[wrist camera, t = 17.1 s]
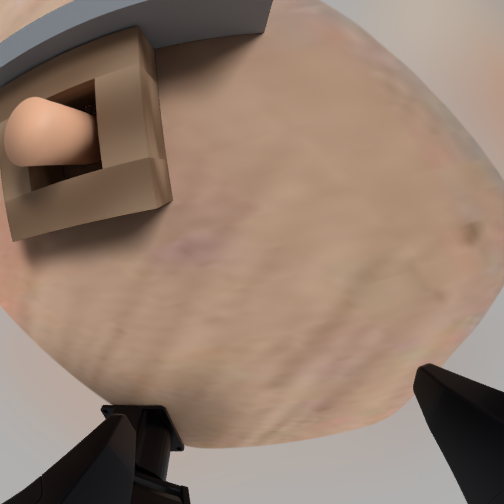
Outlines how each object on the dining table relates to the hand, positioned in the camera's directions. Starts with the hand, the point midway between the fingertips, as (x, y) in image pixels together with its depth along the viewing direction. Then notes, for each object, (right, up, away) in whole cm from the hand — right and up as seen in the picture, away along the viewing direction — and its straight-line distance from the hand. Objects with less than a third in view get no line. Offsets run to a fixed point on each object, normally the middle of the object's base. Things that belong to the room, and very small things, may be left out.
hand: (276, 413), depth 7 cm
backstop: (-12, +18, +7) cm, 22 cm away
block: (-11, +12, +8) cm, 18 cm away
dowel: (-11, +12, +8) cm, 18 cm away
